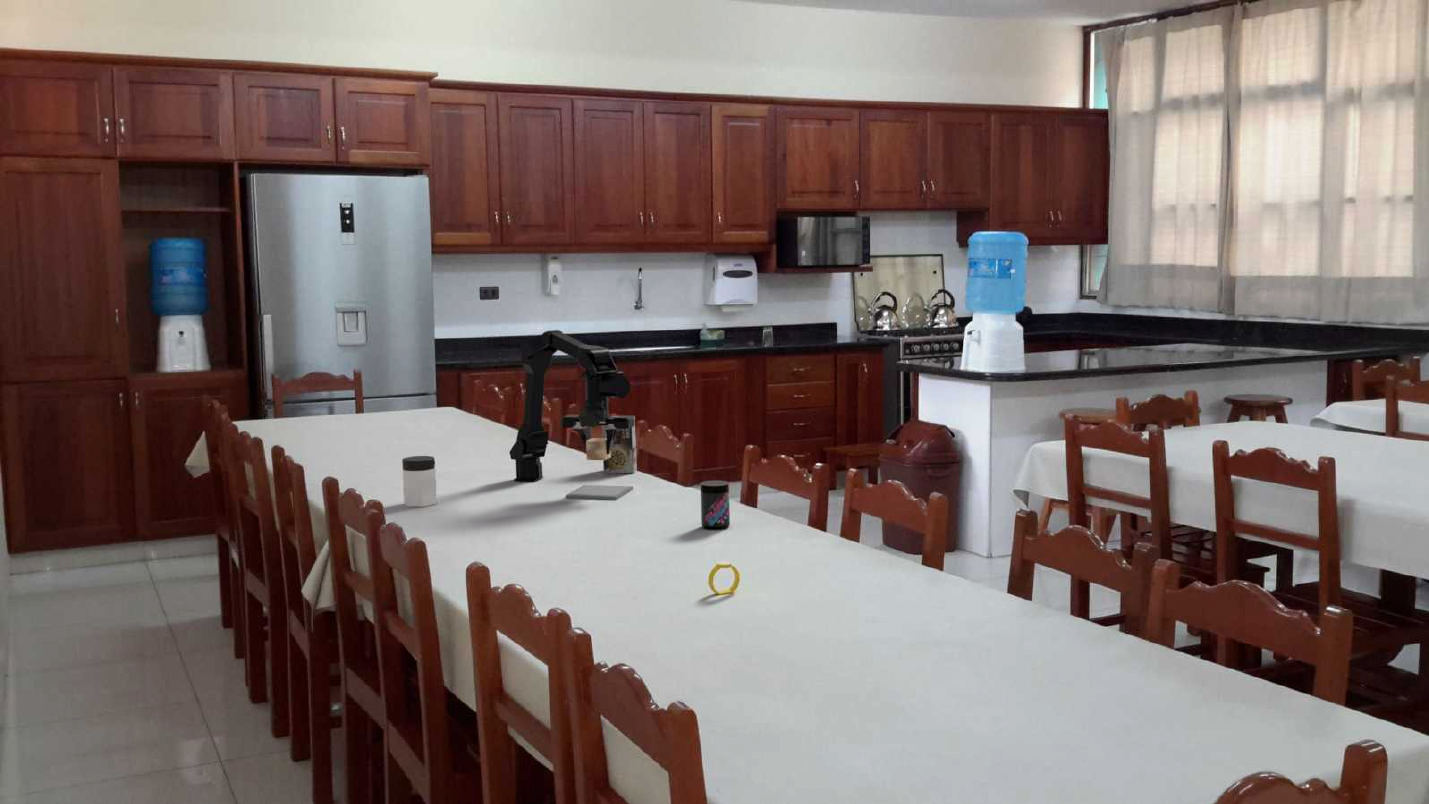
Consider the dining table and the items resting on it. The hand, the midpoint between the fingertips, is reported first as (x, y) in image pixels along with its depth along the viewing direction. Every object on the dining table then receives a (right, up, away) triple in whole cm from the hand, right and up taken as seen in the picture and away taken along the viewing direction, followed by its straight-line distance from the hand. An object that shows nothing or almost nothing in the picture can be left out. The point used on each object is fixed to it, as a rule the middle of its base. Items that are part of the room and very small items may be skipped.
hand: (598, 453), depth 331 cm
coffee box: (+3, -7, +33) cm, 34 cm away
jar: (-45, -13, -8) cm, 48 cm away
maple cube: (0, -1, 0) cm, 1 cm away
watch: (+33, -23, -95) cm, 103 cm away
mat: (0, -11, +1) cm, 11 cm away
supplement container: (+31, -16, -40) cm, 53 cm away
